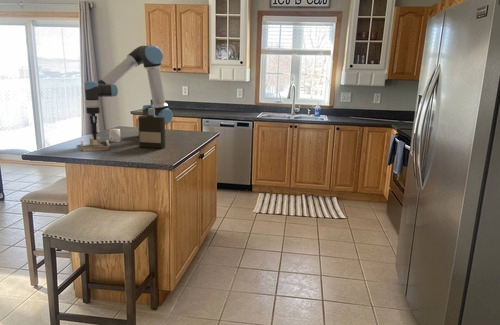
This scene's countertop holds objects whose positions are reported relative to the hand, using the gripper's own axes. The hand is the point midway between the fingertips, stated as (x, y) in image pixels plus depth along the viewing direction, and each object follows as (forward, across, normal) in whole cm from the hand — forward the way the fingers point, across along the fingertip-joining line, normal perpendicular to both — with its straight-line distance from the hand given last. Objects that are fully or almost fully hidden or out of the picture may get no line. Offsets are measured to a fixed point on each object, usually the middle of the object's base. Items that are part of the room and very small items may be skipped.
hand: (95, 144), depth 226 cm
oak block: (+2, -4, 0) cm, 4 cm away
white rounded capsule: (+2, -15, +13) cm, 20 cm away
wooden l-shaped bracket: (+2, +1, 0) cm, 2 cm away
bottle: (+2, +10, +34) cm, 35 cm away
